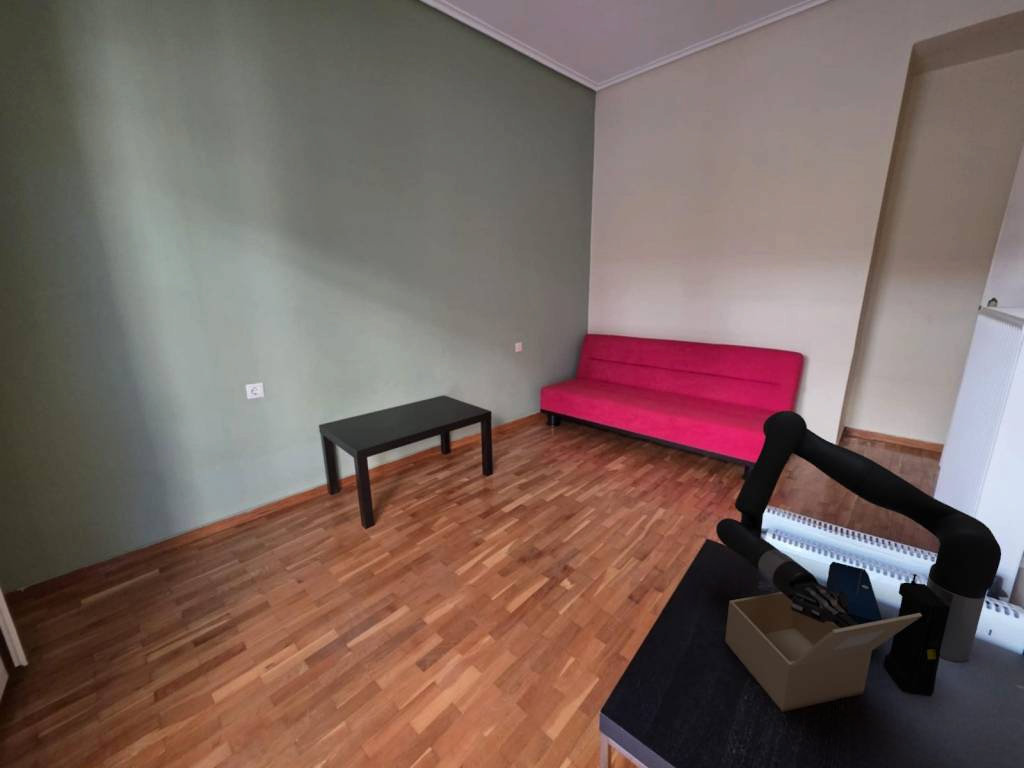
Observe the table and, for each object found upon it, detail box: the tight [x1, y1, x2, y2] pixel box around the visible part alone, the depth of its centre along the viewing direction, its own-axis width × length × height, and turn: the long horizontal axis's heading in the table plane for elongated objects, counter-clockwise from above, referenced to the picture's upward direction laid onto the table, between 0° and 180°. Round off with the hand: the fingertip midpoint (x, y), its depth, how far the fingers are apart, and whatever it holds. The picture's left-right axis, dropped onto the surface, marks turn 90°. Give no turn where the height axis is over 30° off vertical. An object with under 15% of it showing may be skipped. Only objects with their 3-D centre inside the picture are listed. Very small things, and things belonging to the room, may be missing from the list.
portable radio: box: [883, 573, 950, 697], centre depth 89 cm, size 8×6×25 cm
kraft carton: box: [724, 591, 872, 713], centre depth 96 cm, size 18×20×12 cm
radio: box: [825, 561, 883, 656], centre depth 106 cm, size 21×9×20 cm, turn 148°
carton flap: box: [792, 613, 922, 666], centre depth 80 cm, size 16×19×1 cm
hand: (857, 633), depth 80 cm, fingers closed
